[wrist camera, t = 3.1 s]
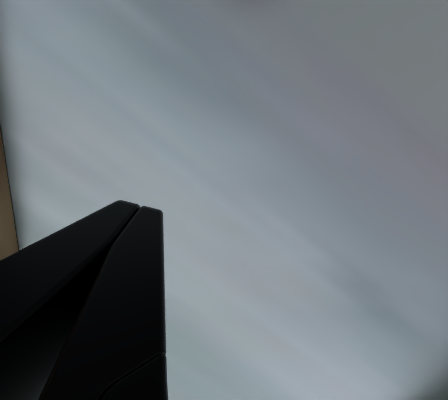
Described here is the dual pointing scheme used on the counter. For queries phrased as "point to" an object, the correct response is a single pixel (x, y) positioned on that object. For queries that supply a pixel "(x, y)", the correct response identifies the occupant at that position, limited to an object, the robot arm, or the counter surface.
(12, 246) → the trap deck
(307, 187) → the counter surface
